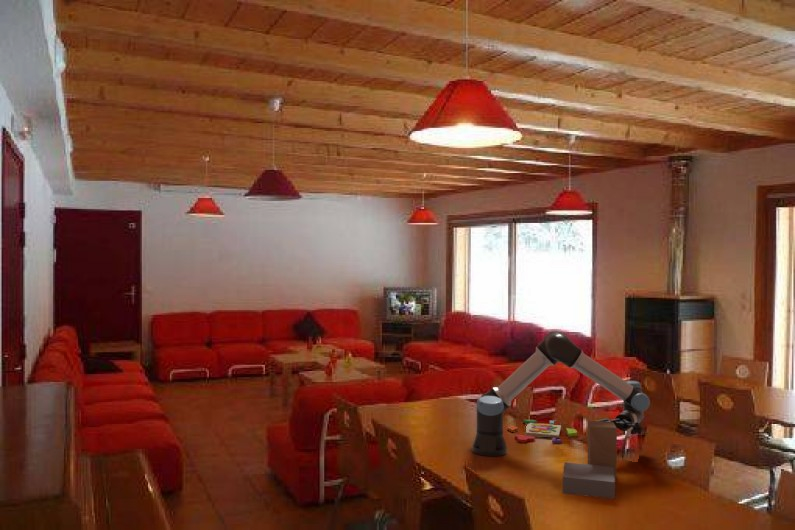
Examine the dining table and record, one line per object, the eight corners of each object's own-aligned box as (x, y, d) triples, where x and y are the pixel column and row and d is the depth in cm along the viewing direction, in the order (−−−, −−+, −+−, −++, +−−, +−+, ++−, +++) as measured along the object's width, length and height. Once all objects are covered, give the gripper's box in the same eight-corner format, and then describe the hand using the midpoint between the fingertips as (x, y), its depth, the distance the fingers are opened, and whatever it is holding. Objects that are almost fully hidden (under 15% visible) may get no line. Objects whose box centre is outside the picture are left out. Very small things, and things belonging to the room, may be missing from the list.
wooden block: (616, 479, 250) (617, 427, 249) (589, 477, 252) (590, 426, 251) (613, 471, 259) (613, 421, 259) (587, 469, 261) (588, 420, 261)
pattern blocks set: (502, 423, 336) (502, 417, 336) (567, 424, 335) (567, 418, 335) (513, 444, 298) (513, 437, 298) (586, 445, 297) (586, 438, 297)
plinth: (562, 493, 234) (562, 476, 234) (564, 477, 251) (564, 462, 251) (614, 499, 228) (614, 482, 228) (613, 482, 246) (613, 466, 246)
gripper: (655, 433, 273) (642, 445, 256) (597, 425, 288) (580, 435, 271) (655, 416, 273) (642, 426, 256) (597, 408, 288) (580, 417, 271)
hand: (610, 431), depth 263 cm, fingers open, 13 cm apart
